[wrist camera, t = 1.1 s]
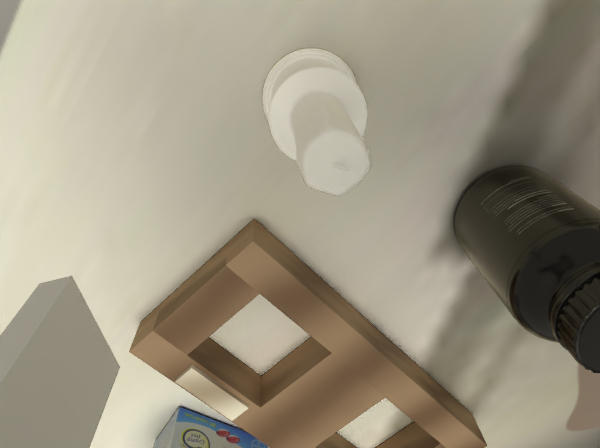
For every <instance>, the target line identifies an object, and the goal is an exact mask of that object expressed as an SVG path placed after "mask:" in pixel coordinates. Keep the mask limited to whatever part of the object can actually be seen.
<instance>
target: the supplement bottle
mask: <svg viewBox="0 0 600 448" xmlns="http://www.w3.org/2000/svg"><path fill="white" fill-rule="evenodd" d="M455 233H456V237H457V240H458V242H459V244H460V246H461V247H462V249H463V250H464V252H465V253H466V254H467V256H468V257H469V259H470V260H471V261H472V263H473V264H474V265H475V267H476V268H477V269H478V271H479V272H480V273H481V275H482V276H483V277H484V279H485V280H486V281H487V283H488V284H489V285H490V287H491V288H492V289H493V291H494V292H495V293H496V294H497V296H498V297H499V298H500V300H501V301H502V302H503V304H504V305H505V306H506V308H507V309H508V310H509V312H510V313H511V314H512V316H513V317H514V318H515V319H516V320H517V322H518V323H519V324H520V325H521V326H522V327H523V328H524V329H525V330H527V331H528V332H530V333H531V334H533V335H535V336H537V337H539V338H542V339H545V340H548V341H552V342H558V343H560V344H561V345H562V346H563V347H564V348H565V349H566V350H568V351H569V353H570V354H571V355H572V356H573V357H574V359H575V360H576V361H577V362H578V363H579V364H581V365H582V366H583V367H584V368H585V369H587V370H591V371H592V372H593V373H600V210H599V209H597V208H596V207H594V206H593V205H592V204H590V203H589V202H587V201H586V200H584V199H583V198H581V197H580V196H578V195H577V194H575V193H574V192H572V191H571V190H569V189H568V188H566V187H565V186H563V185H562V184H560V183H559V182H557V181H556V180H554V179H553V178H551V177H550V176H548V175H547V174H545V173H543V172H541V171H539V170H537V169H534V168H530V167H524V166H513V167H506V168H502V169H499V170H496V171H494V172H491V173H489V174H487V175H486V176H484V177H482V178H481V179H480V180H478V181H477V182H476V183H475V184H474V185H473V186H472V187H471V188H470V189H469V190H468V191H467V192H466V194H465V195H464V197H463V198H462V200H461V202H460V204H459V206H458V209H457V212H456V216H455Z"/></svg>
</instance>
